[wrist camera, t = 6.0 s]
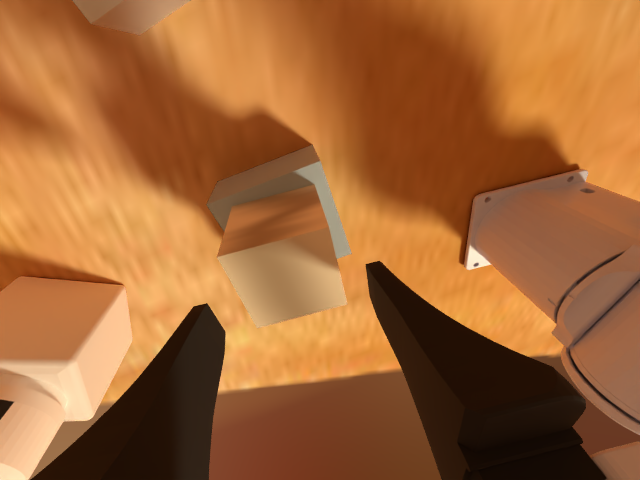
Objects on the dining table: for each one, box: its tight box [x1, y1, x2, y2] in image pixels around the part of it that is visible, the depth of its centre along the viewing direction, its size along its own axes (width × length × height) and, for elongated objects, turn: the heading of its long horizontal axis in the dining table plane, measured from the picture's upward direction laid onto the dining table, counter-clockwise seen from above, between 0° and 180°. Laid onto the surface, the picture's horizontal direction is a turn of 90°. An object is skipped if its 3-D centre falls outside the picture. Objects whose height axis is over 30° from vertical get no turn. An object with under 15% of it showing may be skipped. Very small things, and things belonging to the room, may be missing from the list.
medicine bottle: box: [0, 276, 133, 480], centre depth 18 cm, size 7×7×12 cm
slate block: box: [206, 145, 352, 259], centre depth 19 cm, size 7×7×4 cm
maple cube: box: [217, 184, 347, 328], centre depth 15 cm, size 5×5×5 cm
